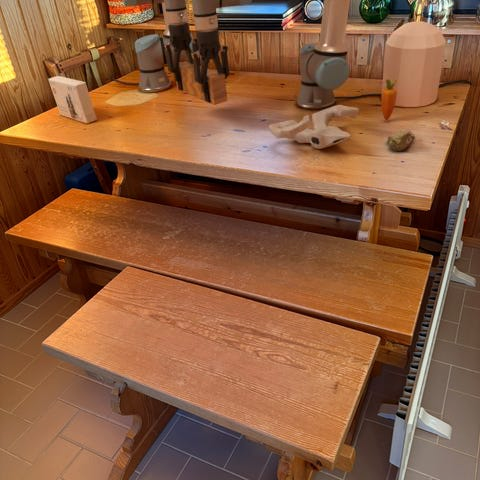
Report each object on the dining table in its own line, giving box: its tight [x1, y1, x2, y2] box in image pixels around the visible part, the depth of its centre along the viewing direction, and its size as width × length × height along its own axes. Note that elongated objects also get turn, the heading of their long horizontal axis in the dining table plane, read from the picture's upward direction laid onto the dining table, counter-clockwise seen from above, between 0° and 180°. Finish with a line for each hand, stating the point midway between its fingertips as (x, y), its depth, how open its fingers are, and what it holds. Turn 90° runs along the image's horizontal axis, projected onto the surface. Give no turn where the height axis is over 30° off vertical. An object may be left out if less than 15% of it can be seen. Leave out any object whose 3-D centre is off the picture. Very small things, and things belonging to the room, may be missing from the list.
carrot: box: [380, 79, 397, 122], centre depth 161 cm, size 5×5×15 cm
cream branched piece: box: [268, 104, 360, 150], centre depth 153 cm, size 28×26×12 cm
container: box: [380, 20, 447, 108], centre depth 175 cm, size 21×21×28 cm
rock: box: [387, 129, 416, 152], centre depth 146 cm, size 11×6×10 cm
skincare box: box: [47, 75, 98, 124], centre depth 192 cm, size 21×6×16 cm, turn 49°
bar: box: [175, 61, 228, 106], centre depth 170 cm, size 28×6×9 cm, turn 34°
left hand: (187, 87), depth 179 cm, fingers closed on bar, 5 cm apart
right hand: (215, 99), depth 165 cm, fingers closed on bar, 5 cm apart
